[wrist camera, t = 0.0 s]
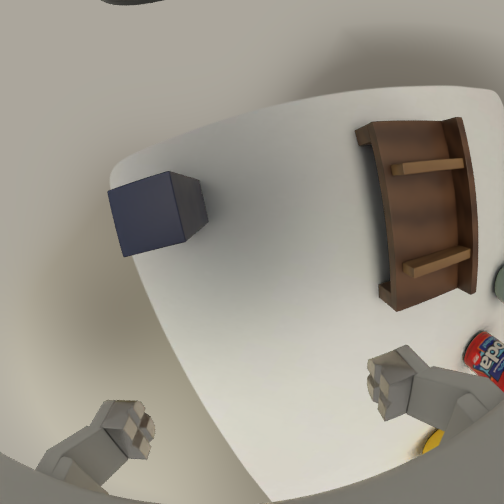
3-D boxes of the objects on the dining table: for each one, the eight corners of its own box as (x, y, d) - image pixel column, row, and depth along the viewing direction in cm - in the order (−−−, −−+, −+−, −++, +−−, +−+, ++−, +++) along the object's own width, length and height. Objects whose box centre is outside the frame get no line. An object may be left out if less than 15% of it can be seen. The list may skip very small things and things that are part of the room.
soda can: (462, 370, 38) (502, 408, 24) (460, 347, 37) (506, 387, 22) (486, 346, 38) (528, 378, 23) (485, 322, 36) (533, 354, 22)
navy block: (158, 191, 30) (106, 191, 17) (199, 179, 30) (169, 170, 17) (168, 232, 31) (123, 257, 18) (208, 222, 31) (186, 241, 18)
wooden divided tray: (354, 130, 29) (385, 115, 21) (425, 127, 29) (461, 117, 21) (379, 297, 34) (408, 322, 26) (442, 275, 33) (476, 292, 26)
